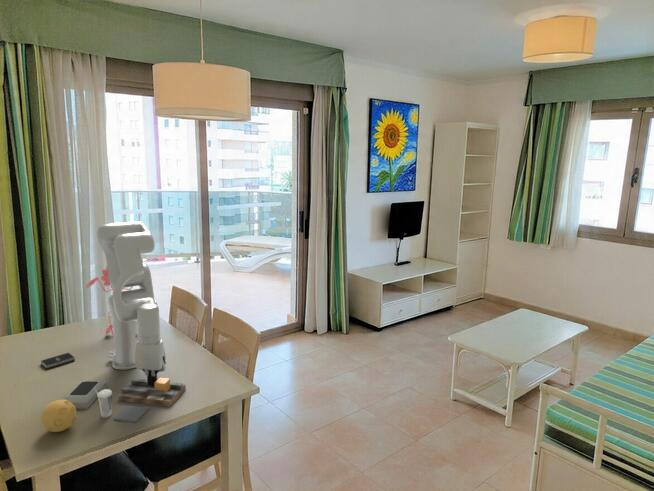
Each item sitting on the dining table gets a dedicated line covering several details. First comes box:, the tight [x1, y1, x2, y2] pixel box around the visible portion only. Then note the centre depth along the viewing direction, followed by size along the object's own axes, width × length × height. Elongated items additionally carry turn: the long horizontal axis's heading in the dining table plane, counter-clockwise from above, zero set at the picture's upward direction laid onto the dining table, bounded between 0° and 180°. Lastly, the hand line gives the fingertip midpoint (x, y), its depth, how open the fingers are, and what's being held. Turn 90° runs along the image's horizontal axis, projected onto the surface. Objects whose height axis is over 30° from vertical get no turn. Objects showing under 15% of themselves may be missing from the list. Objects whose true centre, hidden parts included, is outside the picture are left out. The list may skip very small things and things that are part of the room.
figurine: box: [85, 266, 134, 339], centre depth 220 cm, size 15×26×35 cm, turn 133°
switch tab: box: [154, 377, 171, 391], centre depth 165 cm, size 4×4×4 cm
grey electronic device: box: [62, 379, 108, 409], centre depth 164 cm, size 10×4×15 cm
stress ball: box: [40, 398, 77, 433], centre depth 144 cm, size 10×10×10 cm
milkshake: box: [95, 388, 113, 419], centre depth 153 cm, size 4×5×10 cm
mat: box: [113, 405, 150, 423], centre depth 154 cm, size 8×8×1 cm
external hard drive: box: [40, 352, 76, 370], centre depth 190 cm, size 7×11×2 cm, turn 139°
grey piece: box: [117, 377, 187, 407], centre depth 167 cm, size 20×12×4 cm, turn 81°
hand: (152, 384), depth 166 cm, fingers closed
